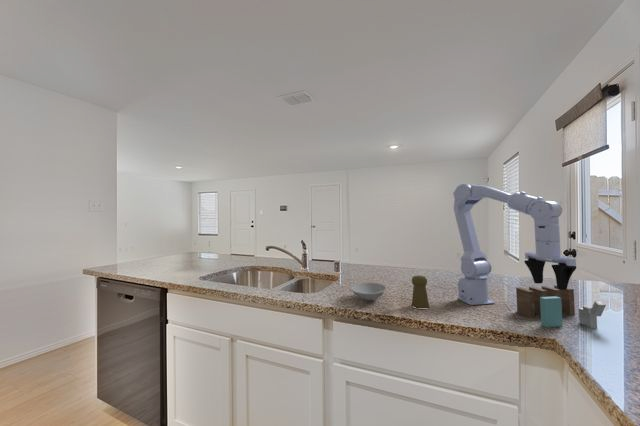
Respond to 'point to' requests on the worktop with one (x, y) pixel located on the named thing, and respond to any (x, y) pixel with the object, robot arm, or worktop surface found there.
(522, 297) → the walnut domino
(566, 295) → the walnut domino
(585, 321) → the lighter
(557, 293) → the walnut domino
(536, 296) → the walnut domino
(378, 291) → the dish
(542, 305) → the teal domino
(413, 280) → the olive upright piece
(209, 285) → the worktop surface
